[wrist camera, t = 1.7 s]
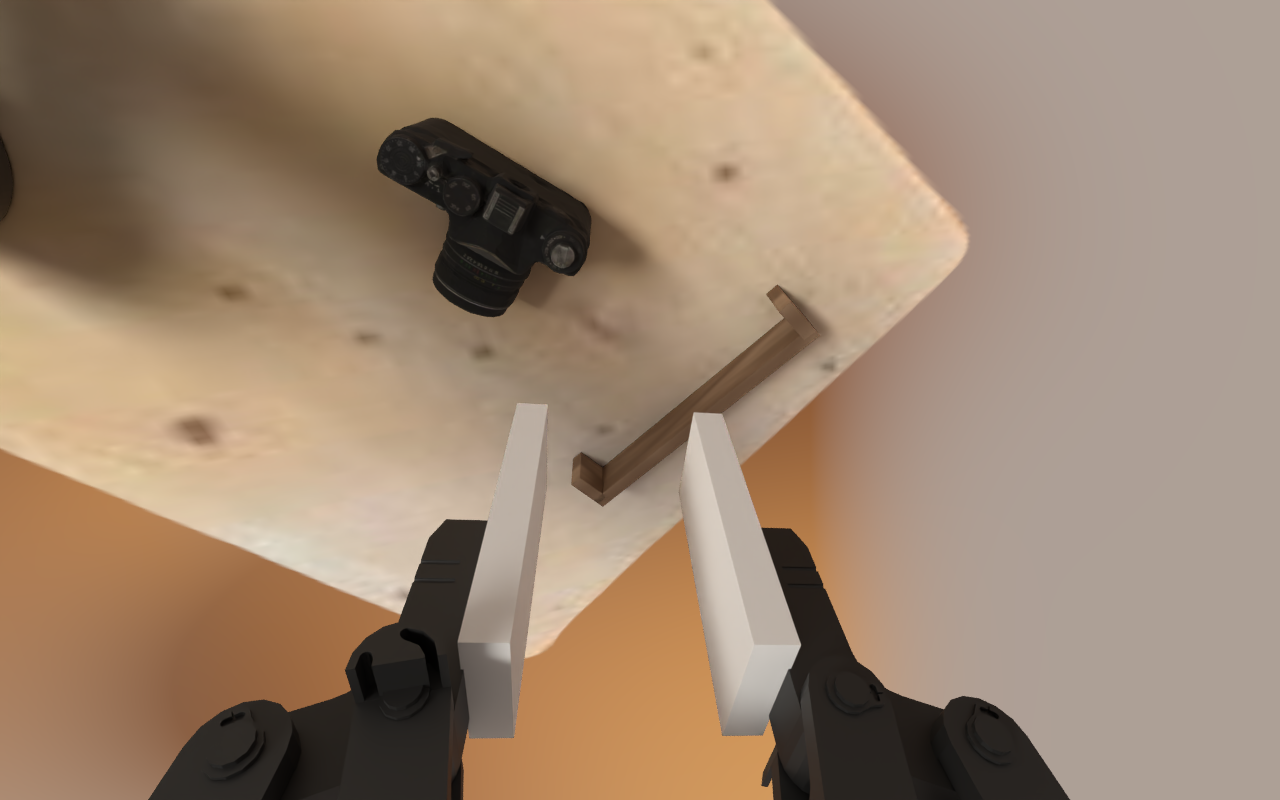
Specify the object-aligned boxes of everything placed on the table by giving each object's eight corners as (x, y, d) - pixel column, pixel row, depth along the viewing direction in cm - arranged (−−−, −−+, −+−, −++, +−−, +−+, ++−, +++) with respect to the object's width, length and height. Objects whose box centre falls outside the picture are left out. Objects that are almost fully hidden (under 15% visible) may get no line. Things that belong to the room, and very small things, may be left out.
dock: (573, 458, 55) (571, 484, 52) (777, 284, 47) (791, 302, 43) (602, 480, 57) (602, 506, 54) (804, 316, 48) (820, 335, 45)
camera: (379, 225, 42) (323, 266, 34) (432, 95, 38) (383, 104, 29) (538, 313, 47) (524, 369, 38) (602, 207, 42) (602, 243, 34)
